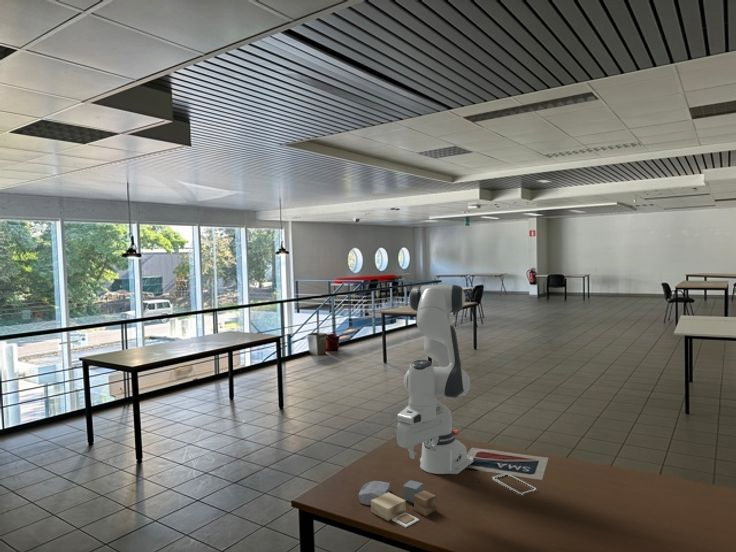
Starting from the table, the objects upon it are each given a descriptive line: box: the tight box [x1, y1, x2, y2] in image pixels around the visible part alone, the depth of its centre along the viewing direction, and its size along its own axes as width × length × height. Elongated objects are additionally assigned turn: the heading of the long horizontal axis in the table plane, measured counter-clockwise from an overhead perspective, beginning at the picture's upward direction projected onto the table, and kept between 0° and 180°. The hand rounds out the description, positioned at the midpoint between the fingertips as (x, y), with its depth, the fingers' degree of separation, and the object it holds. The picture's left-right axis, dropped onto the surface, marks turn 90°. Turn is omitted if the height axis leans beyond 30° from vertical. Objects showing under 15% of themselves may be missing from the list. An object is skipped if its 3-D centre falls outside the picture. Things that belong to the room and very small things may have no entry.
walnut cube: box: [413, 490, 437, 517], centre depth 158 cm, size 5×5×5 cm
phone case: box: [491, 472, 537, 496], centre depth 174 cm, size 7×1×15 cm
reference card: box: [391, 511, 420, 528], centre depth 152 cm, size 6×6×1 cm
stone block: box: [358, 480, 391, 506], centre depth 169 cm, size 12×5×10 cm
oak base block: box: [370, 492, 407, 521], centre depth 158 cm, size 8×8×4 cm
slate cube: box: [402, 479, 424, 504], centre depth 166 cm, size 5×5×5 cm
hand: (423, 454), depth 158 cm, fingers open, 8 cm apart
